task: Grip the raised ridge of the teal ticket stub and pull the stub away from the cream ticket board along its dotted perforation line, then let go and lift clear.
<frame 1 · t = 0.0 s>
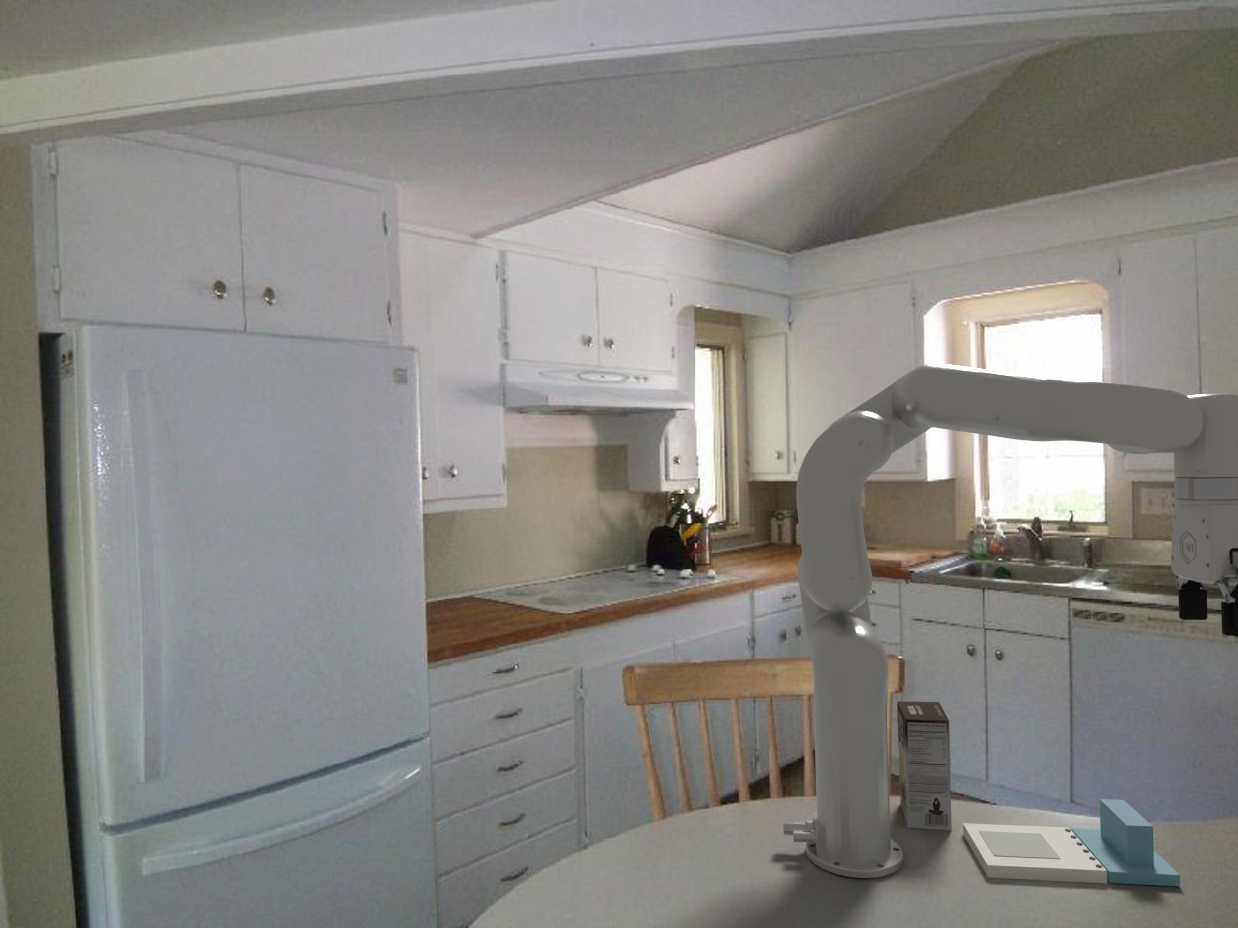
hand: (1214, 626, 102), 31 cm above the table, tool pointing down, fingers open, 9 cm apart
ticket board: (1030, 857, 108), on the table
stub: (1121, 836, 106), point 3 cm above the table, slide at 0.0 cm
coffee box: (925, 818, 121), on the table
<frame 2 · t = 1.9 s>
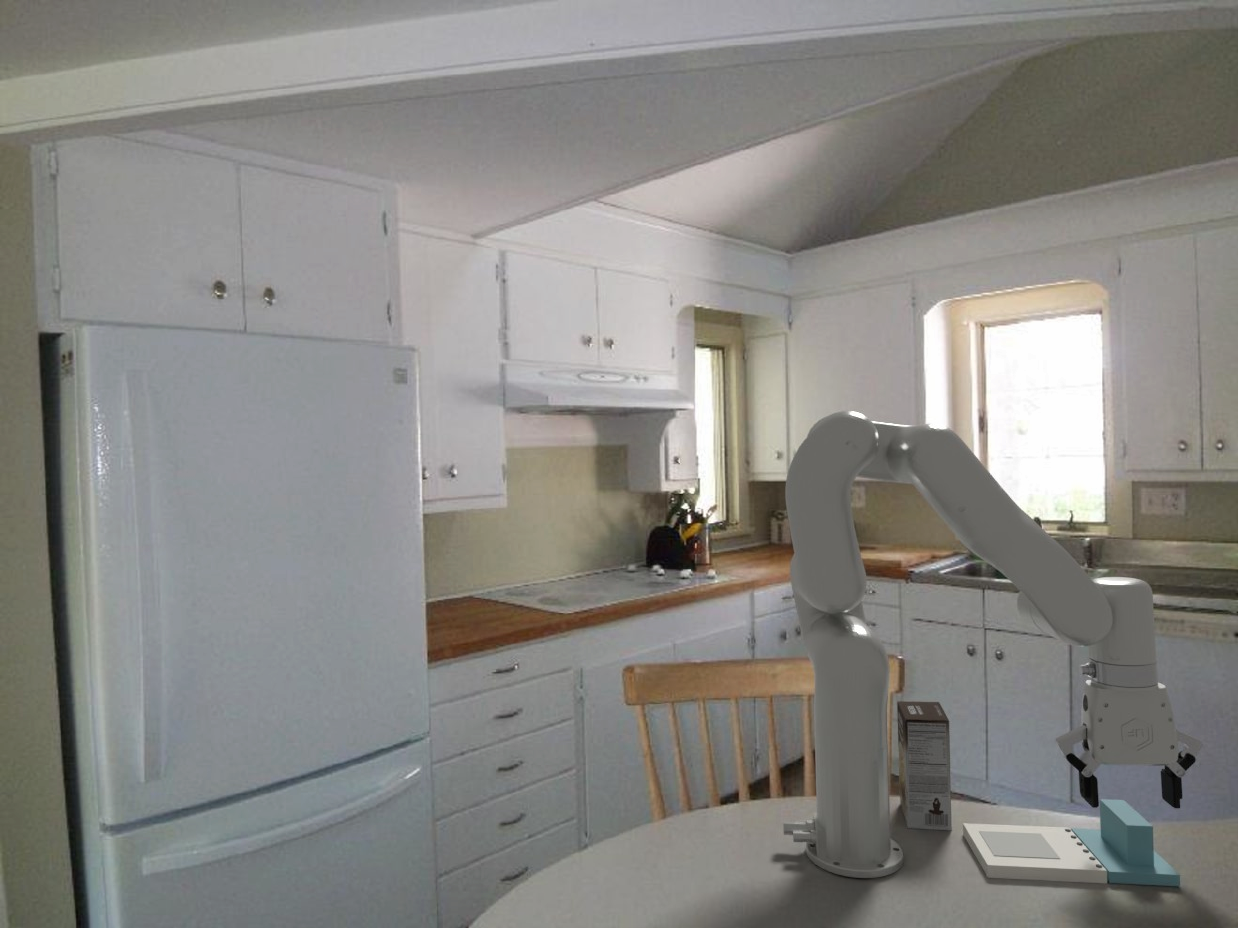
hand: (1130, 803, 106), 8 cm above the table, tool pointing down, fingers open, 9 cm apart
nothing on the table moved.
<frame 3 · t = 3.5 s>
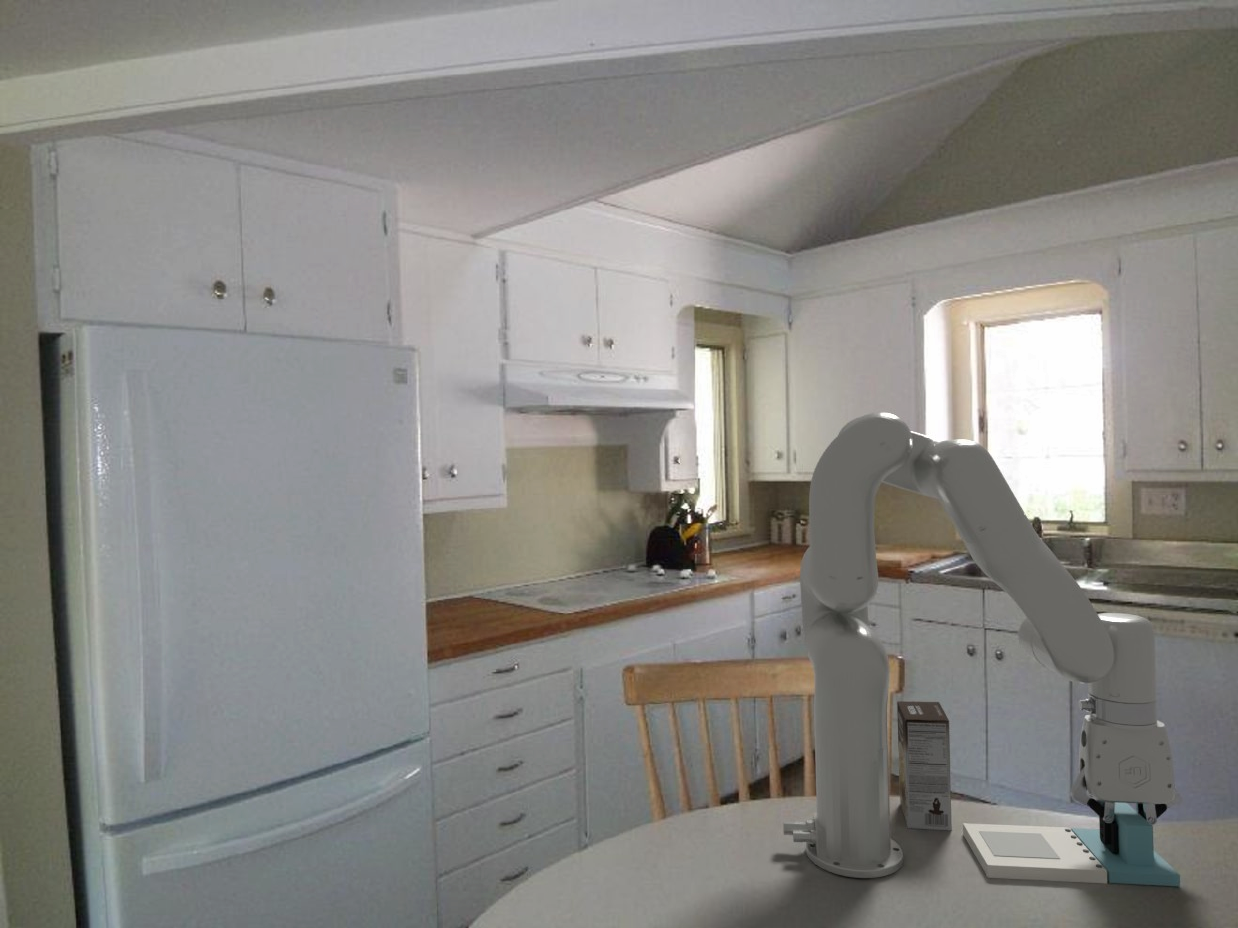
hand: (1126, 848, 106), 2 cm above the table, tool pointing down, fingers closed on stub, 3 cm apart
stub: (1121, 836, 106), point 3 cm above the table, slide at 0.0 cm, touching gripper
everything else where it was.
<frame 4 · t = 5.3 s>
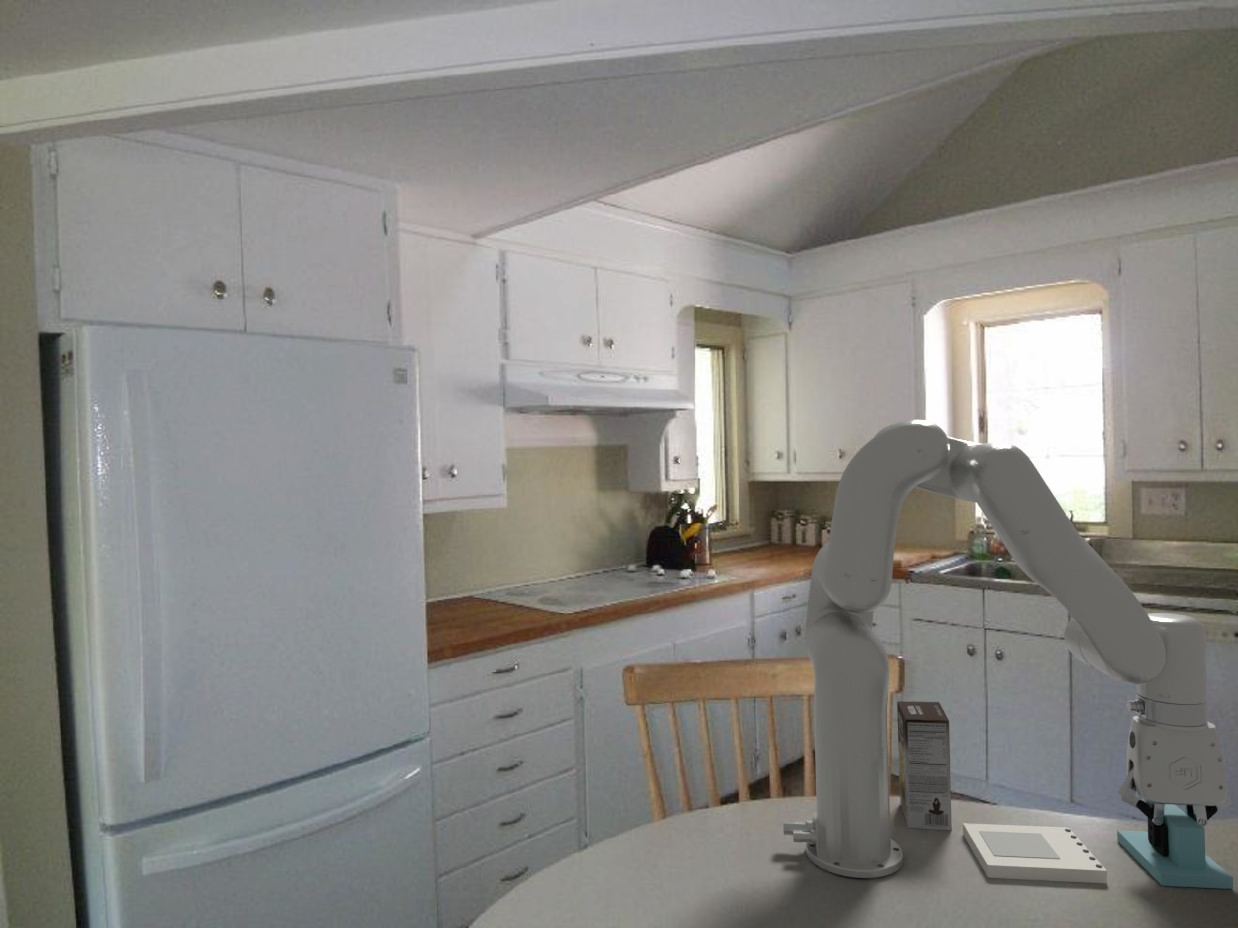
hand: (1175, 850, 105), 2 cm above the table, tool pointing down, fingers closed on stub, 3 cm apart
stub: (1171, 838, 105), point 3 cm above the table, slide at 5.9 cm, touching gripper
everything else where it was.
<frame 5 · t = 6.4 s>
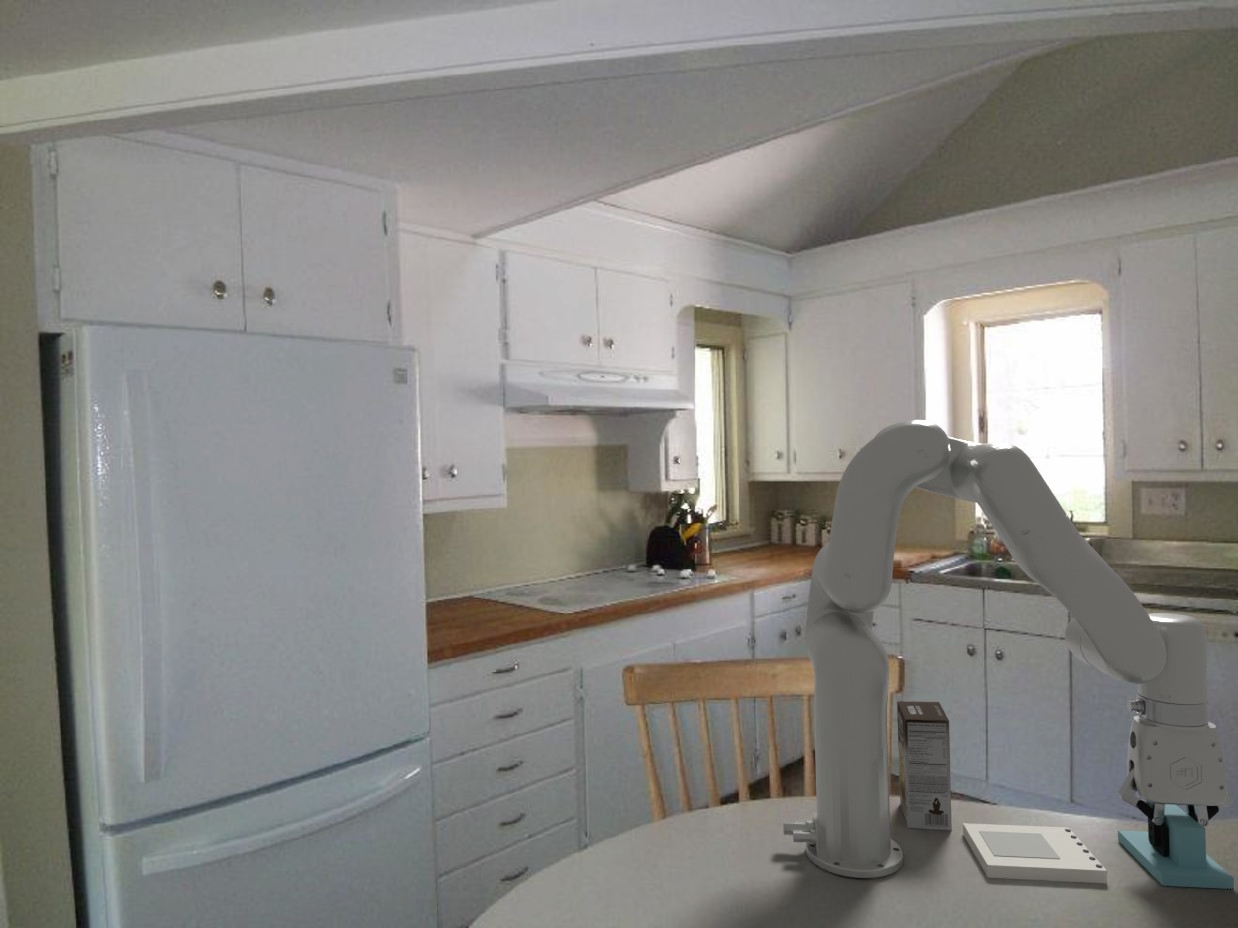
hand: (1176, 850, 105), 2 cm above the table, tool pointing down, fingers open, 3 cm apart
stub: (1171, 838, 105), point 3 cm above the table, slide at 6.0 cm
everything else where it was.
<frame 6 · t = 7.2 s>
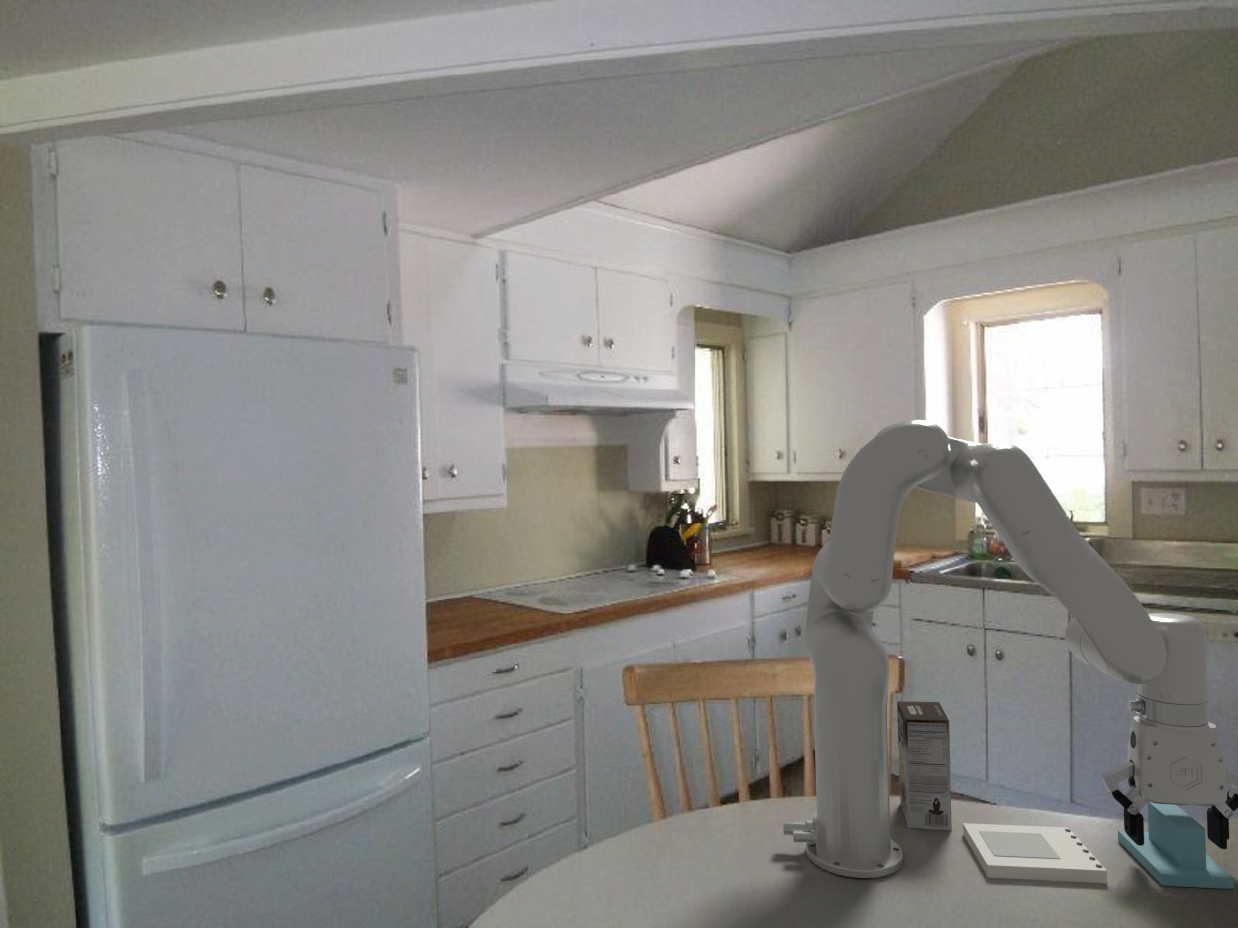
hand: (1176, 842, 105), 3 cm above the table, tool pointing down, fingers open, 9 cm apart
nothing on the table moved.
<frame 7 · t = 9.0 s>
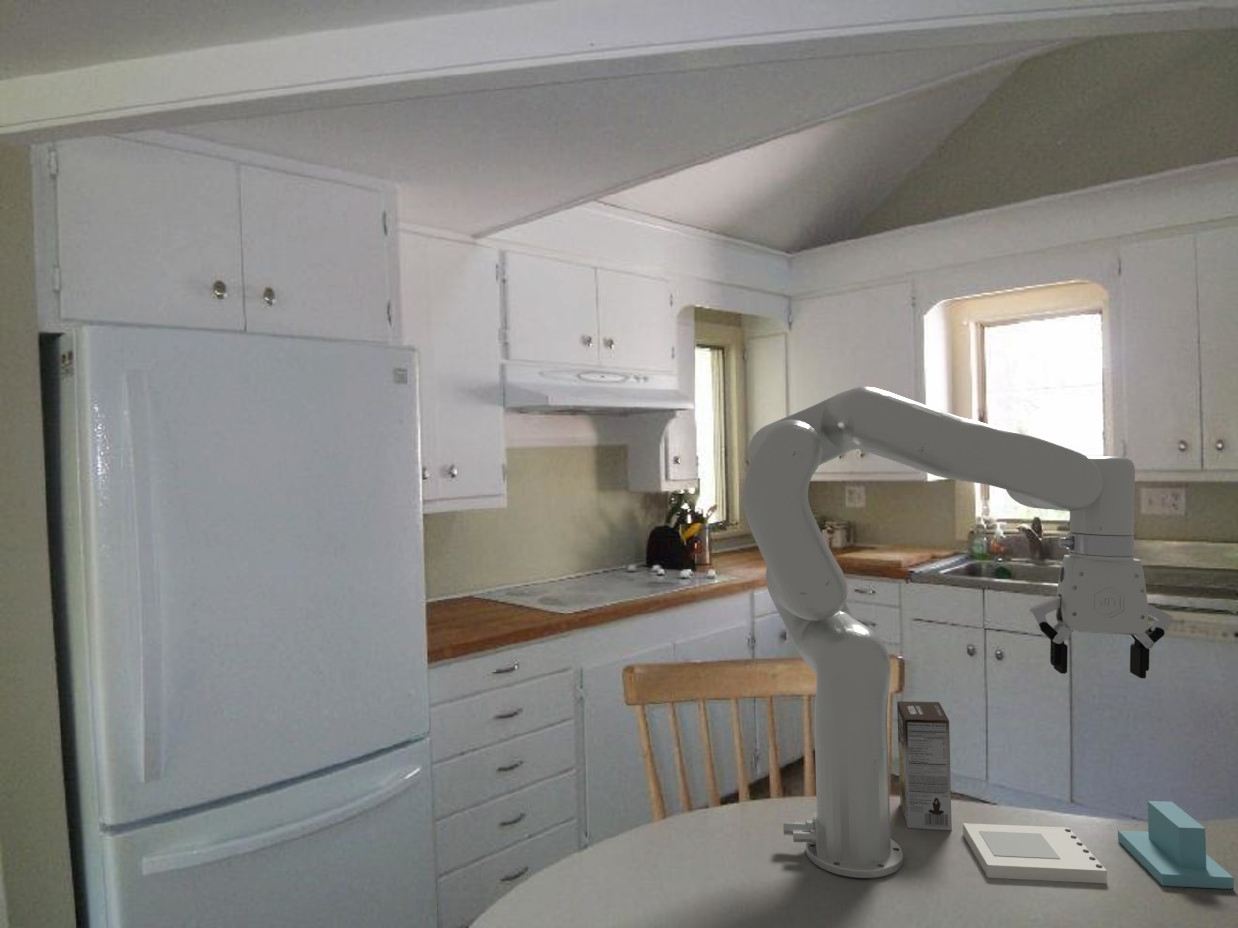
hand: (1098, 673, 110), 24 cm above the table, tool pointing down, fingers open, 9 cm apart
nothing on the table moved.
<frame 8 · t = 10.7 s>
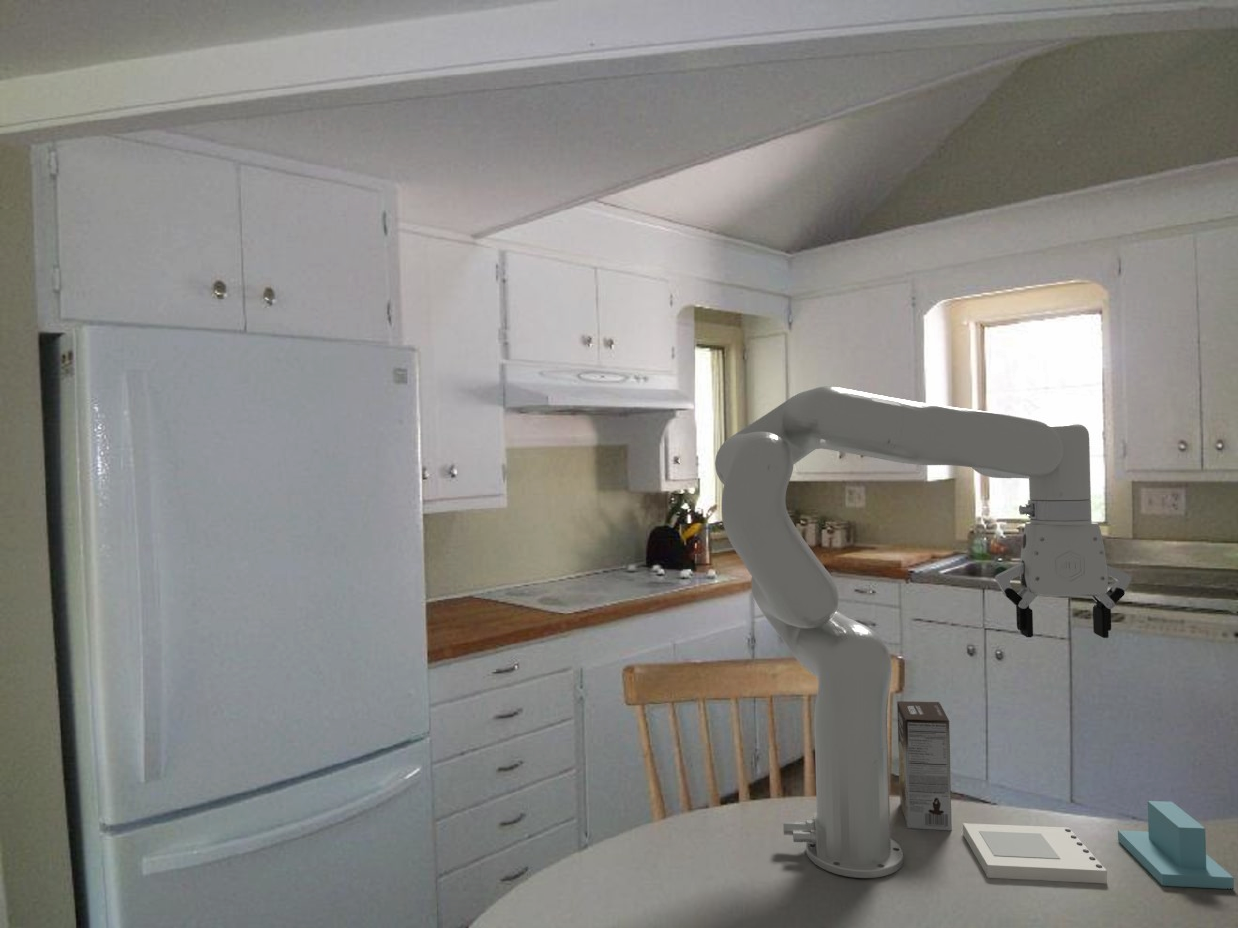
hand: (1063, 635, 113), 28 cm above the table, tool pointing down, fingers open, 9 cm apart
nothing on the table moved.
at the end: stub slide at 6.0 cm; the gripper is holding nothing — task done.
